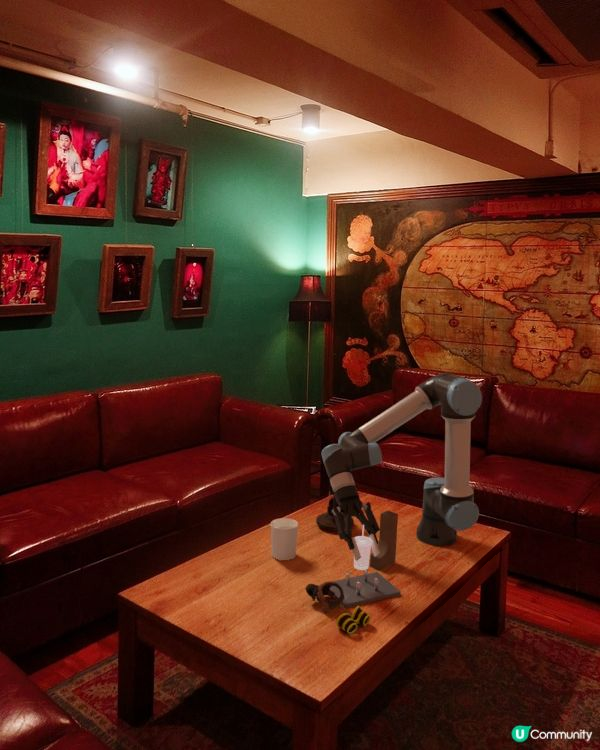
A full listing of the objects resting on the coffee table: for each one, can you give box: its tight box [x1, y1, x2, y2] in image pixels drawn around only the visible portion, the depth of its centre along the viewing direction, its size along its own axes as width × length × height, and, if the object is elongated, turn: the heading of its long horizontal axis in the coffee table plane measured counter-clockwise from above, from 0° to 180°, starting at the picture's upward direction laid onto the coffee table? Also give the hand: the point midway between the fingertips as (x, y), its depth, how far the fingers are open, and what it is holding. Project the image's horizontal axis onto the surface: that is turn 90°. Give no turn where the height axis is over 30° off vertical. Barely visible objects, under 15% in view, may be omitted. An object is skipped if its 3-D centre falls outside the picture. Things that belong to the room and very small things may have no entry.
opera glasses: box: [335, 605, 371, 635], centre depth 188 cm, size 10×5×5 cm, turn 134°
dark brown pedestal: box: [315, 482, 355, 531], centre depth 256 cm, size 15×15×20 cm
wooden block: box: [369, 510, 399, 571], centre depth 225 cm, size 9×4×18 cm, turn 135°
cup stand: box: [330, 568, 402, 609], centre depth 208 cm, size 20×14×5 cm
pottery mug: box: [305, 580, 344, 613], centre depth 199 cm, size 12×10×8 cm
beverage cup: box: [353, 525, 372, 571], centre depth 205 cm, size 6×6×14 cm
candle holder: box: [270, 517, 299, 561], centre depth 230 cm, size 10×10×12 cm
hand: (367, 557), depth 202 cm, fingers closed on beverage cup, 6 cm apart
